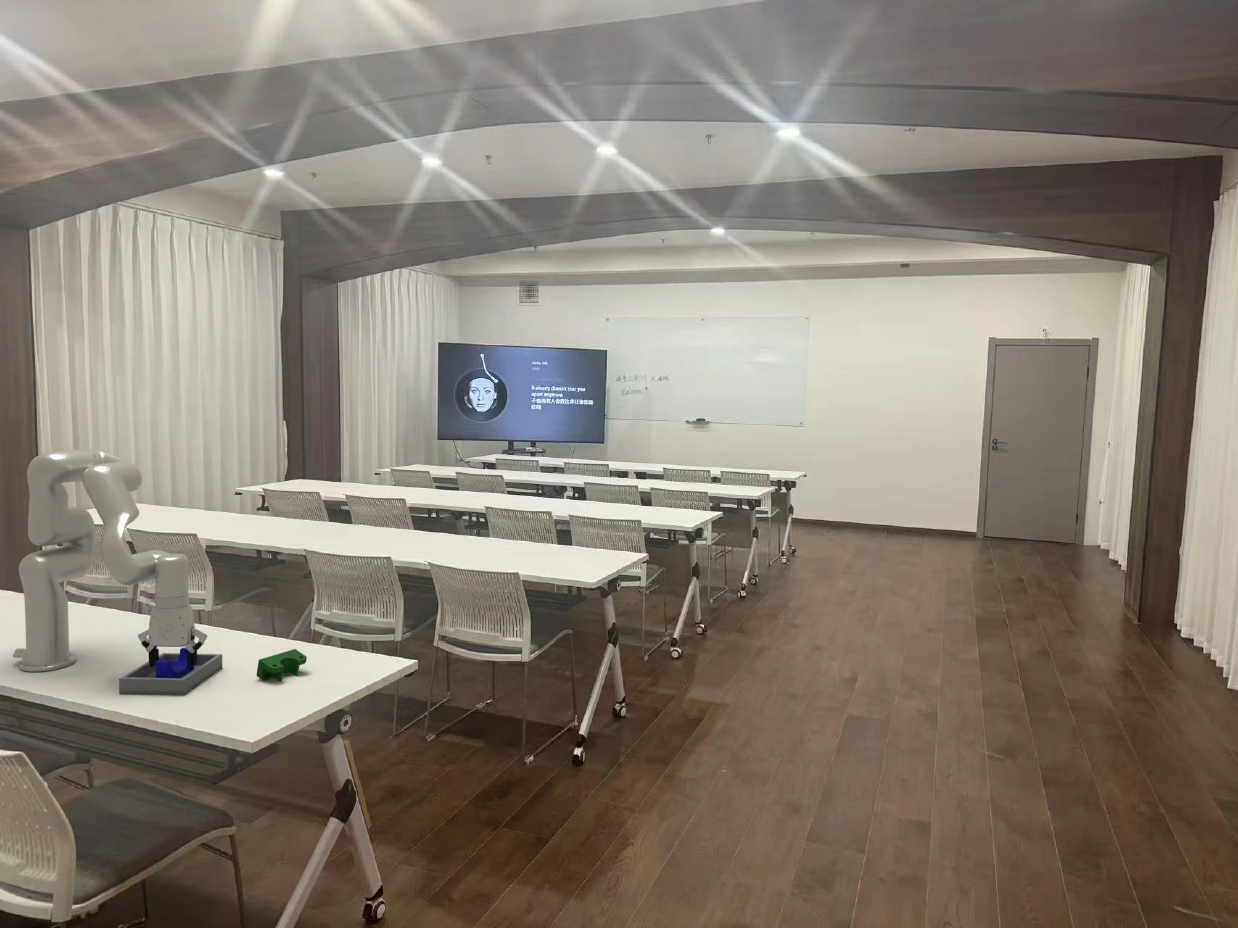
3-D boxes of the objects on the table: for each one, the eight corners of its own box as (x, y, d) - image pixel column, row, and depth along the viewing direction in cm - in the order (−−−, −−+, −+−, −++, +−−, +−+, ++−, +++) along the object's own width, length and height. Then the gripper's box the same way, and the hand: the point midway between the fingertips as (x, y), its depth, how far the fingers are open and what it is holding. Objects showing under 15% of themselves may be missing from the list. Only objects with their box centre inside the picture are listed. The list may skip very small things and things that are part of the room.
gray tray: (119, 694, 197) (118, 678, 197) (163, 667, 217) (163, 652, 216) (184, 695, 197) (184, 679, 197) (222, 668, 217) (222, 654, 217)
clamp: (274, 697, 209) (267, 673, 204) (260, 687, 212) (252, 663, 207) (312, 670, 218) (306, 646, 213) (298, 661, 220) (291, 637, 216)
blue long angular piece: (178, 668, 213) (177, 647, 213) (194, 669, 213) (194, 647, 212) (150, 684, 201) (149, 661, 201) (167, 685, 201) (166, 662, 200)
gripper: (129, 604, 201) (131, 669, 203) (198, 606, 202) (199, 671, 203) (146, 597, 209) (147, 660, 210) (212, 598, 209) (213, 661, 211)
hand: (173, 665), depth 207 cm, fingers open, 9 cm apart
